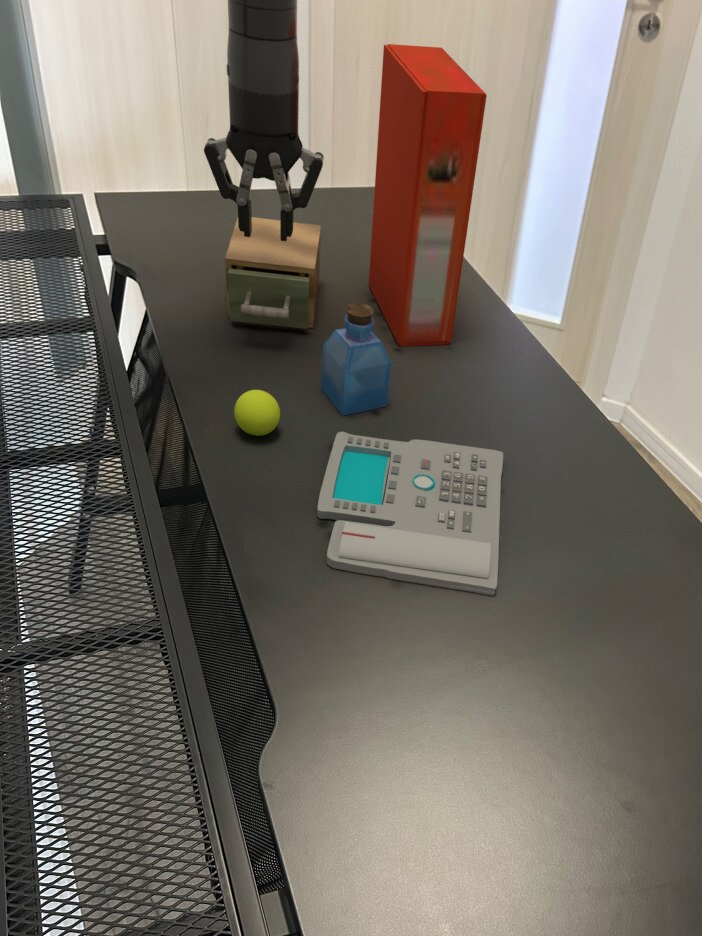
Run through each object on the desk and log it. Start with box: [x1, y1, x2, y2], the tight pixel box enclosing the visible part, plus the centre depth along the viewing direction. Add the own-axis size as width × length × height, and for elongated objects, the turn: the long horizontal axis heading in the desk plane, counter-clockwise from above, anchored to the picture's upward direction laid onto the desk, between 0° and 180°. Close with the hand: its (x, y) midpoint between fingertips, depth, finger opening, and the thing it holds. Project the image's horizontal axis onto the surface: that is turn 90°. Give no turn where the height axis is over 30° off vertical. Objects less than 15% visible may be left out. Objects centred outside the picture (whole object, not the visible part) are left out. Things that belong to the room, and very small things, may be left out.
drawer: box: [228, 265, 310, 330], centre depth 116 cm, size 18×10×7 cm, turn 3°
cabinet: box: [224, 216, 322, 329], centre depth 119 cm, size 14×12×9 cm
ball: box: [233, 389, 281, 437], centre depth 99 cm, size 5×5×5 cm
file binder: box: [368, 43, 488, 347], centre depth 113 cm, size 8×17×32 cm, turn 18°
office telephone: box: [316, 431, 504, 597], centre depth 94 cm, size 23×3×20 cm
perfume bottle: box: [320, 302, 392, 417], centre depth 104 cm, size 6×6×12 cm
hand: (265, 235), depth 104 cm, fingers open, 3 cm apart
